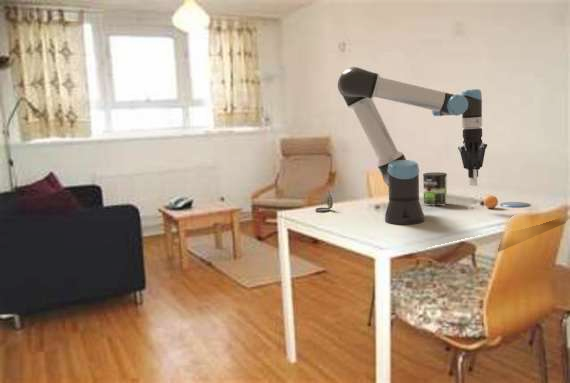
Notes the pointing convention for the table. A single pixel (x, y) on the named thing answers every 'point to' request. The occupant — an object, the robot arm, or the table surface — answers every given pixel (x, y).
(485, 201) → the ball
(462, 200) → the table surface
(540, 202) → the table surface
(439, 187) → the coffee can
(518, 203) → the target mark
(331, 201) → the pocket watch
